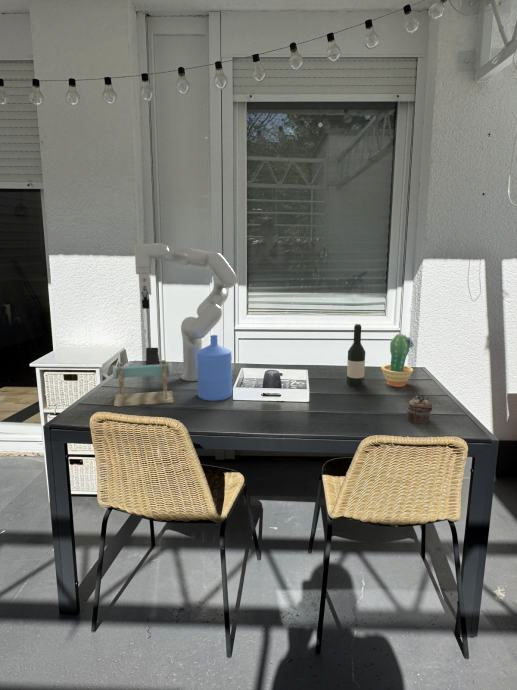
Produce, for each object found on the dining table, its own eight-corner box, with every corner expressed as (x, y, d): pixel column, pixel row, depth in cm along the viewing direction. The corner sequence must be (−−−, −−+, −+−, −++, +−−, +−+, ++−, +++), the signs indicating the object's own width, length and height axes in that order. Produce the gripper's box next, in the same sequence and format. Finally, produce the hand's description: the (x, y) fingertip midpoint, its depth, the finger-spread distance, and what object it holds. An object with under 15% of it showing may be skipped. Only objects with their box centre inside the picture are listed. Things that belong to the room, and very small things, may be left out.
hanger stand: (172, 393, 226) (170, 359, 223) (173, 402, 215) (172, 366, 211) (116, 397, 221) (113, 362, 217) (114, 406, 209) (111, 369, 206)
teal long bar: (171, 373, 221) (171, 360, 220) (172, 377, 215) (171, 364, 214) (114, 377, 216) (113, 364, 214) (113, 381, 210) (112, 367, 209)
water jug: (227, 402, 215) (226, 340, 209) (193, 400, 218) (191, 338, 212) (235, 391, 230) (235, 333, 223) (203, 389, 233) (202, 331, 227)
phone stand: (156, 371, 264) (155, 349, 261) (145, 371, 264) (144, 349, 261) (160, 367, 273) (159, 346, 270) (149, 366, 273) (148, 345, 270)
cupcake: (425, 415, 200) (427, 391, 198) (434, 424, 190) (436, 399, 188) (402, 415, 200) (403, 392, 197) (410, 424, 190) (412, 400, 188)
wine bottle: (362, 381, 245) (365, 322, 239) (364, 386, 237) (367, 326, 230) (346, 381, 246) (348, 322, 239) (347, 386, 238) (349, 325, 231)
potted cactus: (405, 390, 231) (409, 339, 226) (375, 384, 241) (377, 334, 235) (417, 383, 243) (420, 333, 238) (387, 377, 253) (390, 330, 247)
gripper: (152, 271, 222) (154, 309, 225) (152, 269, 238) (153, 304, 242) (135, 272, 220) (137, 309, 224) (136, 269, 236) (138, 304, 240)
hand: (145, 307), depth 233 cm, fingers open, 9 cm apart
